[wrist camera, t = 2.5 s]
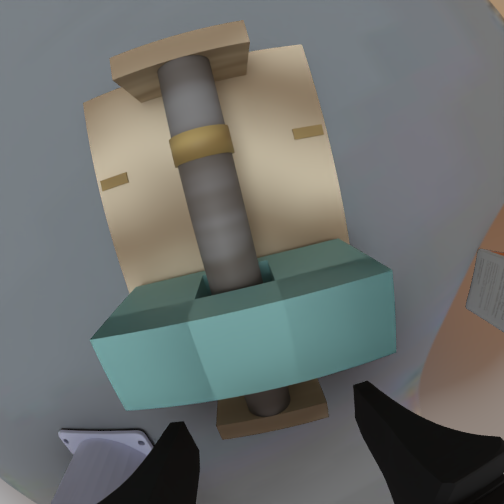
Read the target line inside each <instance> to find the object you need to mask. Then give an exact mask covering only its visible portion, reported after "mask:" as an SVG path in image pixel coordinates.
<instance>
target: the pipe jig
mask: <svg viewBox="0 0 504 504" xmlns="http://www.w3.org/2000/svg"><path fill="white" fill-rule="evenodd" d="M249 44H250V41H249V37H248V34H247V31H246V27H245V24H244V21H243V20H241V21H236V22H230V23H225V24H220V25H215V26H211V27H206V28H202V29H198V30H194V31H190V32H186V33H182V34H179V35H175V36H172V37H168V38H165V39H162V40H158V41H155V42H152V43H149V44H146V45H143V46H140V47H137V48H135V49H132V50H129V51H126V52H124V53H121V54H119V55H116V56H114V57H111V58H110V65H111V72H112V79H113V81H114V82H116V83H117V84H118V85H119V86H121V88H118V89H115V90H113V91H110V92H108V93H105V94H103V95H101V96H98V97H96V98H94V99H91V100H89V101H87V102H85V103H83V106H84V113H85V119H86V126H87V132H88V138H89V143H90V148H91V154H92V159H93V164H94V168H95V173H96V178H97V182H98V186H99V191H100V195H101V199H102V203H103V207H104V211H105V215H106V218H107V222H108V226H109V229H110V233H111V236H112V240H113V243H114V247H115V250H116V253H117V257H118V260H119V263H120V266H121V269H122V272H123V275H124V278H125V281H126V284H127V287H128V290H129V293H131V292H132V291H133V290H134V289H135V287H138V286H142V285H147V284H151V283H155V282H159V281H164V280H168V279H172V278H176V277H180V276H185V275H189V274H193V273H197V272H201V271H205V273H206V276H207V280H208V283H209V287H210V290H211V293H212V295H216V294H221V293H225V292H229V291H233V290H238V289H242V288H246V287H250V286H255V285H259V284H263V280H262V276H261V272H260V267H259V263H258V259H257V258H260V257H264V256H268V255H272V254H276V253H280V252H285V251H289V250H293V249H297V248H301V247H305V246H309V245H313V244H317V243H321V242H325V241H329V240H334V239H338V238H339V239H340V240H342V241H344V242H345V243H347V244H349V237H348V231H347V225H346V220H345V214H344V209H343V203H342V198H341V193H340V188H339V183H338V178H337V174H336V169H335V164H334V160H333V155H332V151H331V147H330V143H329V138H328V134H327V130H326V126H325V122H324V118H323V115H322V111H321V107H320V103H319V100H318V96H317V93H316V89H315V86H314V82H313V79H312V76H311V72H310V69H309V66H308V62H307V59H306V56H305V53H304V50H303V47H302V45H293V46H285V47H277V48H270V49H263V50H257V51H251V52H249ZM349 245H350V244H349ZM327 417H329V415H328V407H327V401H326V399H325V396H324V394H323V391H322V389H321V386H320V384H319V381H318V379H317V378H315V379H312V380H308V381H304V382H300V383H296V384H293V385H288V386H284V387H280V388H276V389H271V390H267V391H262V392H258V393H253V394H248V395H243V396H238V397H232V398H227V399H221V400H218V406H217V422H216V427H217V429H218V431H219V433H220V435H221V437H222V439H223V440H224V439H231V438H237V437H243V436H249V435H255V434H260V433H265V432H270V431H275V430H279V429H284V428H288V427H292V426H297V425H301V424H305V423H309V422H312V421H316V420H320V419H323V418H327Z"/></svg>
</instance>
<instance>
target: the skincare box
mask: <svg viewBox="0 0 504 504" xmlns="http://www.w3.org/2000/svg"><path fill="white" fill-rule="evenodd" d="M466 309H468V310H469V311H471V312H473V313H474V314H476V315H478V316H479V317H481V318H482V319H484V320H485V321H487V322H488V323H490V324H492V325H493V326H495V327H496V328H498V329H499V330H501V331H502V332H504V253H503V252H497V251H491V250H485V249H479V250H478V252H477V258H476V263H475V269H474V273H473V278H472V282H471V286H470V291H469V294H468V298H467V302H466Z"/></svg>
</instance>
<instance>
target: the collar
mask: <svg viewBox="0 0 504 504" xmlns="http://www.w3.org/2000/svg"><path fill="white" fill-rule="evenodd" d="M257 259H258V263H259V267H260V272H261V276H262V280H263V284H259V285H255V286H250V287H246V288H242V289H238V290H233V291H229V292H225V293H221V294H216V295H212V293H211V290H210V287H209V283H208V280H207V276H206V273H205V271H201V272H197V273H193V274H189V275H185V276H180V277H176V278H172V279H168V280H164V281H159V282H155V283H151V284H147V285H142V286H138V287H135V289H134V290H133V291H132V292H131V293H130V294H129V295H128V296H127V297H126V299H125V300H124V301H123V302H122V303H121V304H120V305H119V306H118V308H117V309H116V310H115V311H114V312H113V313H112V315H111V316H110V317H109V318H108V319H107V320H106V321H105V323H104V324H103V325H102V326H101V327H100V328H99V330H98V331H97V332H96V333H95V334H94V336H93V337H92V338H91V339H90V341H91V343H92V346H93V348H94V350H95V352H96V354H97V356H98V358H99V361H100V363H101V365H102V367H103V369H104V371H105V373H106V375H107V377H108V379H109V380H110V382H111V384H112V386H113V388H114V390H115V392H116V394H117V395H118V397H119V399H120V401H121V403H122V404H123V406H124V408H125V410H126V411H129V410H142V409H153V408H163V407H172V406H181V405H188V404H195V403H202V402H209V401H215V400H221V399H227V398H232V397H238V396H243V395H248V394H253V393H258V392H262V391H267V390H271V389H276V388H280V387H284V386H288V385H293V384H296V383H300V382H304V381H308V380H312V379H315V378H319V377H323V376H326V375H329V374H333V373H336V372H340V371H343V370H346V369H349V368H352V367H356V366H359V365H362V364H365V363H368V362H371V361H373V360H376V359H379V358H382V357H385V356H388V355H390V354H393V353H396V321H395V301H394V286H393V274H392V270H391V269H389V268H388V267H386V266H384V265H383V264H381V263H379V262H378V261H376V260H374V259H373V258H371V257H369V256H368V255H366V254H364V253H363V252H361V251H359V250H358V249H356V248H354V247H352V246H351V245H349V244H347V243H345V242H344V241H342V240H340V239H339V238H338V239H334V240H329V241H325V242H321V243H317V244H313V245H309V246H305V247H301V248H297V249H293V250H289V251H285V252H280V253H276V254H272V255H268V256H264V257H260V258H257Z"/></svg>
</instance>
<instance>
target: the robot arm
mask: <svg viewBox="0 0 504 504" xmlns="http://www.w3.org/2000/svg"><path fill="white" fill-rule="evenodd" d="M353 388H354V404H355V418H356V421H357V424H358V427H359V429H360V432H361V434H362V437H363V439H364V440H365V442H366V444H367V446H368V448H369V450H370V451H371V453H372V455H373V457H374V459H375V461H376V462H377V464H378V466H379V468H380V470H381V471H382V473H383V476H384V478H385V480H386V482H387V485H388V487H389V490H390V493H391V495H392V498H393V501H394V504H504V474H503V473H504V440H502V438H501V437H495V436H484V435H476V434H470V433H465V432H461V431H457V430H454V429H450V428H447V427H444V426H441V425H438V424H436V423H433V422H431V421H429V420H426V419H425V418H423V417H421V416H419V415H417V414H415V413H413V412H411V411H410V410H408V409H406V408H405V407H403V406H402V405H400V404H398V403H397V402H395V401H394V400H392V399H391V398H390V397H388V396H387V395H385V394H384V393H383V392H381V391H380V390H379V389H378V388H376V387H375V386H374V385H372V384H371V383H370V382H368V381H365V382H362V383H359V384H355V385H353ZM58 435H59V437H60V438H61V440H62V441H63V442H64V444H65V445H66V446H67V448H68V449H69V450H70V452H71V453H72V454H73V457H72V459H71V461H70V463H69V466H68V468H67V470H66V472H65V474H64V476H63V478H62V480H61V482H60V484H59V487H58V489H57V491H56V493H55V495H54V497H53V500H52V502H51V504H196V496H197V489H198V480H199V472H200V458H199V449H198V447H197V446H196V444H195V442H194V440H193V438H192V436H191V435H190V433H189V431H188V429H187V427H186V425H185V423H184V421H182V422H173V423H170V424H169V425H168V427H167V428H166V430H165V431H164V433H163V434H162V436H161V437H160V439H159V440H158V441H157V443H156V444H155V446H154V447H153V445H152V444H151V442H150V441H149V439H148V438H147V436H146V435H145V433H143V432H142V431H139V430H130V431H76V430H60V431H59V433H58ZM142 441H143V442H142Z"/></svg>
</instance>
